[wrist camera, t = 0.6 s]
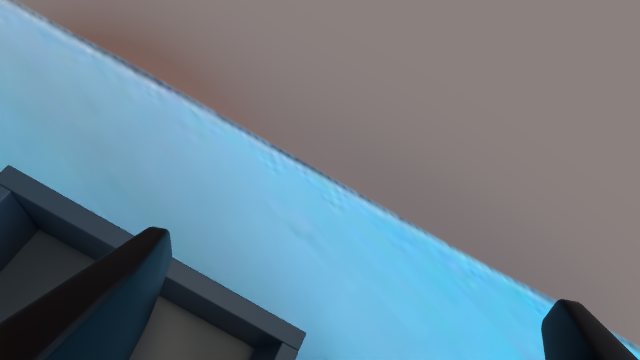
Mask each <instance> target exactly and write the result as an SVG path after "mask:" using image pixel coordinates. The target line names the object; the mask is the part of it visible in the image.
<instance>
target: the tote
mask: <svg viewBox="0 0 640 360" xmlns="http://www.w3.org/2000/svg"><path fill="white" fill-rule="evenodd" d="M133 237H134V235H132V234H130V233H128V232H127V231H125V230H123V229H121V228H120V227H118V226H116V225H114V224H113V223H111V222H109V221H107V220H105V219H104V218H102V217H100V216H98V215H97V214H95V213H93V212H91V211H89V210H88V209H86V208H84V207H82V206H81V205H79V204H77V203H75V202H74V201H72V200H70V199H68V198H66V197H65V196H63V195H61V194H59V193H58V192H56V191H54V190H52V189H51V188H49V187H47V186H45V185H43V184H42V183H40V182H38V181H36V180H35V179H33V178H31V177H29V176H28V175H26V174H24V173H22V172H20V171H19V170H17V169H15V168H13V167H12V166H9V165H8V166H7V167H6V168H5V169H4V170H3V171H2V172H0V322H2V321H3V320H5V319H6V318H8V317H10V316H11V315H13V314H14V313H16V312H17V311H19V310H21V309H22V308H24V307H25V306H27V305H28V304H30V303H31V302H33V301H35V300H36V299H38V298H39V297H41V296H42V295H44V294H45V293H47V292H49V291H50V290H52V289H53V288H55V287H56V286H58V285H60V284H61V283H63V282H64V281H66V280H67V279H69V278H70V277H72V276H74V275H75V274H77V273H78V272H80V271H81V270H83V269H85V268H86V267H88V266H89V265H91V264H92V263H94V262H95V261H97V260H99V259H100V258H102V257H103V256H105V255H106V254H108V253H109V252H111V251H113V250H114V249H116V248H117V247H119V246H120V245H122V244H124V243H125V242H127V241H128V240H130V239H131V238H133ZM305 335H306V333H305V332H304V331H302V330H300V329H298V328H297V327H295V326H293V325H291V324H290V323H288V322H286V321H284V320H283V319H281V318H279V317H277V316H275V315H274V314H272V313H270V312H268V311H267V310H265V309H263V308H261V307H259V306H258V305H256V304H254V303H252V302H251V301H249V300H247V299H245V298H244V297H242V296H240V295H238V294H236V293H235V292H233V291H231V290H229V289H228V288H226V287H224V286H222V285H221V284H219V283H217V282H215V281H213V280H212V279H210V278H208V277H206V276H205V275H203V274H201V273H199V272H198V271H196V270H194V269H192V268H190V267H189V266H187V265H185V264H183V263H182V262H180V261H178V260H176V259H174V258H173V257H172V260H171V263H170V266H169V269H168V272H167V274H166V277H165V279H164V282H163V285H162V287H161V290H160V293H159V295H158V298H157V300H156V303H155V306H154V308H153V311H152V314H151V316H150V319H149V321H148V323H147V325H146V328H145V330H144V332H143V334H142V336H141V338H140V339H139V341H138V343H137V345H136V347H135V349H134V351H133V353H132V355H131V357H130V359H129V360H295V359H296V356H297V354H298V350H299V349H300V347H301V345H302V342H303V340H304V338H305Z"/></svg>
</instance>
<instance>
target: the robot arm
mask: <svg viewBox="0 0 640 360" xmlns="http://www.w3.org/2000/svg"><path fill="white" fill-rule="evenodd" d="M171 260H172V249H171V240H170V233H169V231H168V230H167V229H163V228H158V227H149V228H147V229H145V230H144V231H142V232H141V233H139V234H138V235H136V236H134V237H133V238H131V239H130V240H128V241H127V242H125V243H124V244H122V245H120V246H119V247H117V248H116V249H114V250H113V251H111V252H109V253H108V254H106V255H105V256H103V257H102V258H100V259H99V260H97V261H95V262H94V263H92V264H91V265H89V266H88V267H86V268H85V269H83V270H81V271H80V272H78V273H77V274H75V275H74V276H72V277H70V278H69V279H67V280H66V281H64V282H63V283H61V284H60V285H58V286H56V287H55V288H53V289H52V290H50V291H49V292H47V293H45V294H44V295H42V296H41V297H39V298H38V299H36V300H35V301H33V302H31V303H30V304H28V305H27V306H25V307H24V308H22V309H21V310H19V311H17V312H16V313H14V314H13V315H11V316H10V317H8V318H6V319H5V320H3V321H2V322H0V360H129V359H130V357H131V355H132V353H133V351H134V349H135V347H136V345H137V343H138V341H139V339H140V338H141V336H142V334H143V332H144V330H145V328H146V325H147V323H148V321H149V319H150V316H151V314H152V311H153V308H154V306H155V303H156V300H157V298H158V295H159V293H160V290H161V287H162V285H163V282H164V279H165V277H166V274H167V272H168V269H169V266H170V263H171ZM541 331H542V338H543V346H544V353H545V360H638V359H637V358H636V357H635V356H634V355H633V354H632V353H631V352H630V351H629V350H628V349H627V348H626V347H625V346H624V345H623V344H622V343H621V342H620V341H619V340H618V339H617V338H616V337H615V336H614V335H613V334H612V333H611V332H610V331H609V330H608V329H607V328H606V327H604V326H603V325H602V324H601V323H600V322H599V321H598V320H597V319H596V318H595V317H594V316H593V315H592V314H591V313H590V312H589V311H588V310H587V309H586V308H585V307H584V306H583V305H582V304H580V303H579V302H575V301H570V300H564V299H560V300H558V301H557V302H556V303H555V304H554V306H553V307H552V308H551V310H550V311H549V312H548V314H547V315H546V317H545V318H544V319H543V322H542V326H541Z"/></svg>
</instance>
